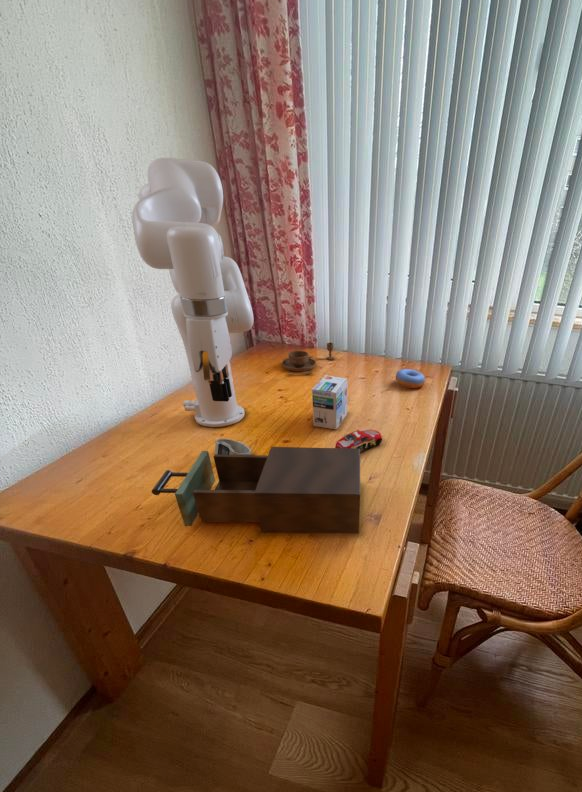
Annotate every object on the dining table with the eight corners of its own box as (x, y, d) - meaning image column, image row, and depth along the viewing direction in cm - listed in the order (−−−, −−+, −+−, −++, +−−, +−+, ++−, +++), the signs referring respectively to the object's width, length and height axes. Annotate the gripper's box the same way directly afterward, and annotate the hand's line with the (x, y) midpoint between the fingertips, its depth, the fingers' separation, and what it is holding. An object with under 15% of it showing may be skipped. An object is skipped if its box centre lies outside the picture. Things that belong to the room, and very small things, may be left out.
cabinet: (260, 532, 70) (254, 492, 64) (275, 483, 82) (271, 446, 77) (359, 533, 71) (360, 494, 66) (359, 484, 83) (360, 448, 78)
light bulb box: (336, 430, 102) (336, 392, 96) (312, 426, 103) (310, 389, 97) (348, 413, 111) (348, 377, 105) (325, 409, 112) (324, 374, 106)
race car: (372, 434, 102) (372, 421, 99) (386, 443, 98) (387, 429, 96) (331, 450, 94) (331, 436, 92) (345, 460, 91) (345, 445, 88)
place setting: (280, 359, 144) (278, 343, 141) (333, 357, 149) (332, 341, 146) (284, 376, 130) (283, 359, 127) (342, 373, 136) (342, 357, 133)
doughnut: (426, 381, 134) (427, 369, 132) (421, 392, 126) (422, 379, 124) (398, 377, 136) (399, 364, 133) (392, 388, 128) (393, 374, 125)
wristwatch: (209, 457, 88) (205, 438, 85) (231, 445, 93) (227, 427, 90) (238, 470, 85) (234, 451, 82) (259, 457, 89) (256, 439, 87)
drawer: (149, 526, 68) (136, 493, 64) (179, 480, 79) (169, 450, 75) (279, 526, 70) (274, 495, 66) (290, 481, 81) (287, 452, 77)
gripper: (198, 296, 76) (215, 383, 87) (165, 316, 63) (190, 415, 74) (237, 298, 77) (249, 384, 87) (212, 318, 64) (230, 416, 74)
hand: (222, 398), depth 80 cm, fingers closed
